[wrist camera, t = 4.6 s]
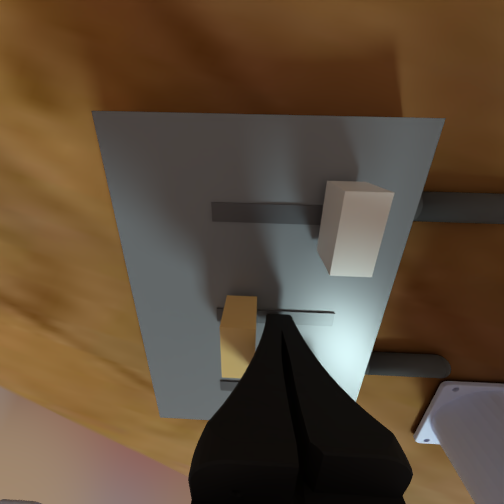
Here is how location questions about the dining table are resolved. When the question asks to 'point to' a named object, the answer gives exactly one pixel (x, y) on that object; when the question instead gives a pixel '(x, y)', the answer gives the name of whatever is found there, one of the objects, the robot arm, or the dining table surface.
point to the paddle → (352, 227)
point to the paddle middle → (237, 335)
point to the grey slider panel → (252, 233)
